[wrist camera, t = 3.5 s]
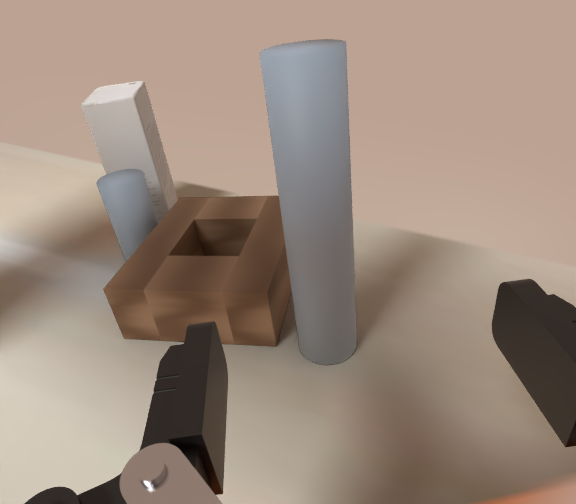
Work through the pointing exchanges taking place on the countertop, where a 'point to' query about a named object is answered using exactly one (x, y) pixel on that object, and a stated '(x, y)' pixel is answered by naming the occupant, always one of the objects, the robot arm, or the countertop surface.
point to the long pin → (314, 190)
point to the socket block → (207, 273)
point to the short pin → (128, 207)
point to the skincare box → (130, 138)
